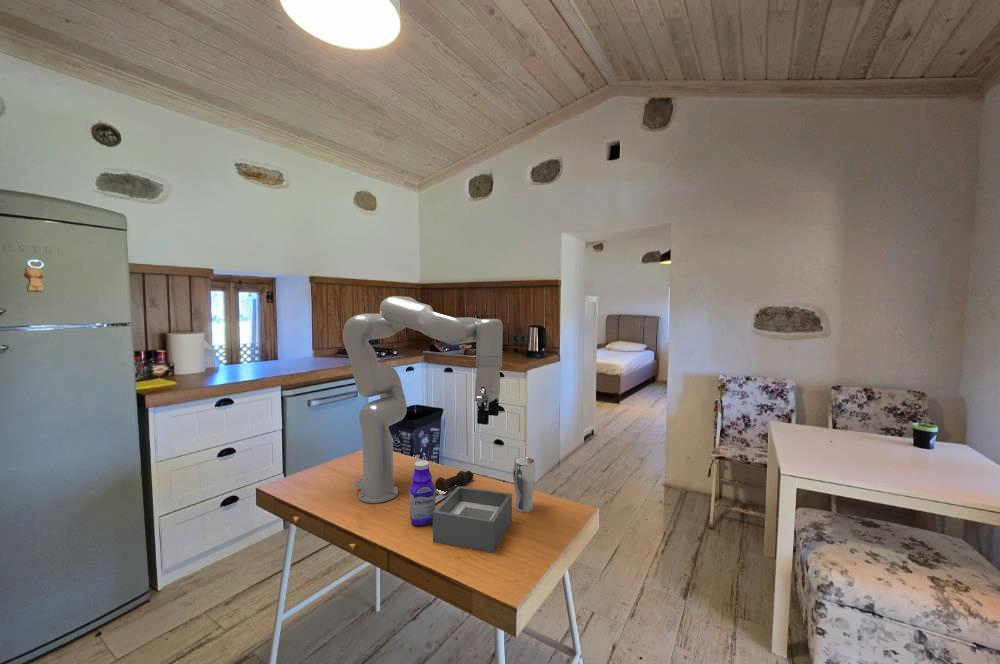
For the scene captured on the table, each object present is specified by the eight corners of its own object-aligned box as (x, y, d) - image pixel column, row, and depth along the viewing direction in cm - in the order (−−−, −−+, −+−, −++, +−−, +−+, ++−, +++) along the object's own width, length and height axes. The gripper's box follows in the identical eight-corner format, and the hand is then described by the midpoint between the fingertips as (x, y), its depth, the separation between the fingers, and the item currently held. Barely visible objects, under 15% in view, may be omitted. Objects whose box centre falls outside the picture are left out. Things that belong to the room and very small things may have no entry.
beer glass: (508, 508, 130) (508, 460, 129) (522, 500, 135) (522, 455, 134) (525, 515, 125) (525, 466, 124) (539, 507, 130) (540, 460, 129)
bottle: (412, 529, 117) (411, 468, 116) (408, 519, 123) (407, 461, 122) (437, 523, 120) (437, 464, 119) (432, 514, 125) (432, 457, 124)
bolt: (472, 485, 151) (441, 498, 139) (463, 475, 153) (432, 487, 142) (478, 474, 149) (447, 486, 137) (469, 464, 151) (438, 475, 140)
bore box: (432, 541, 111) (432, 512, 111) (458, 511, 127) (458, 486, 127) (493, 552, 106) (493, 522, 106) (511, 520, 122) (512, 493, 122)
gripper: (486, 357, 131) (485, 411, 132) (466, 364, 114) (465, 426, 115) (509, 358, 129) (508, 413, 130) (492, 366, 112) (491, 429, 113)
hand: (488, 419), depth 122 cm, fingers open, 9 cm apart
